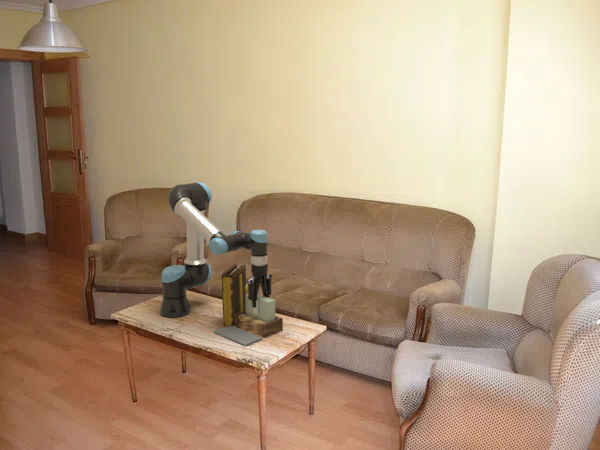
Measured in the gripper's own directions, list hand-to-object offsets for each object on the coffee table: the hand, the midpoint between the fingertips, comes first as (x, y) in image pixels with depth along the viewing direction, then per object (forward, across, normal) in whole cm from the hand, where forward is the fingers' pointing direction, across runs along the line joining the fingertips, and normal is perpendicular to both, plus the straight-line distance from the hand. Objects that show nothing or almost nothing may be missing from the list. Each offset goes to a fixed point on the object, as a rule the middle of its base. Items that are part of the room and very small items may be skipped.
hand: (260, 311), depth 249 cm
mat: (+8, -14, 0) cm, 16 cm away
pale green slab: (+8, 0, 0) cm, 8 cm away
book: (+8, 0, +18) cm, 20 cm away
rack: (+8, -1, 0) cm, 8 cm away
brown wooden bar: (+8, -5, 0) cm, 9 cm away
